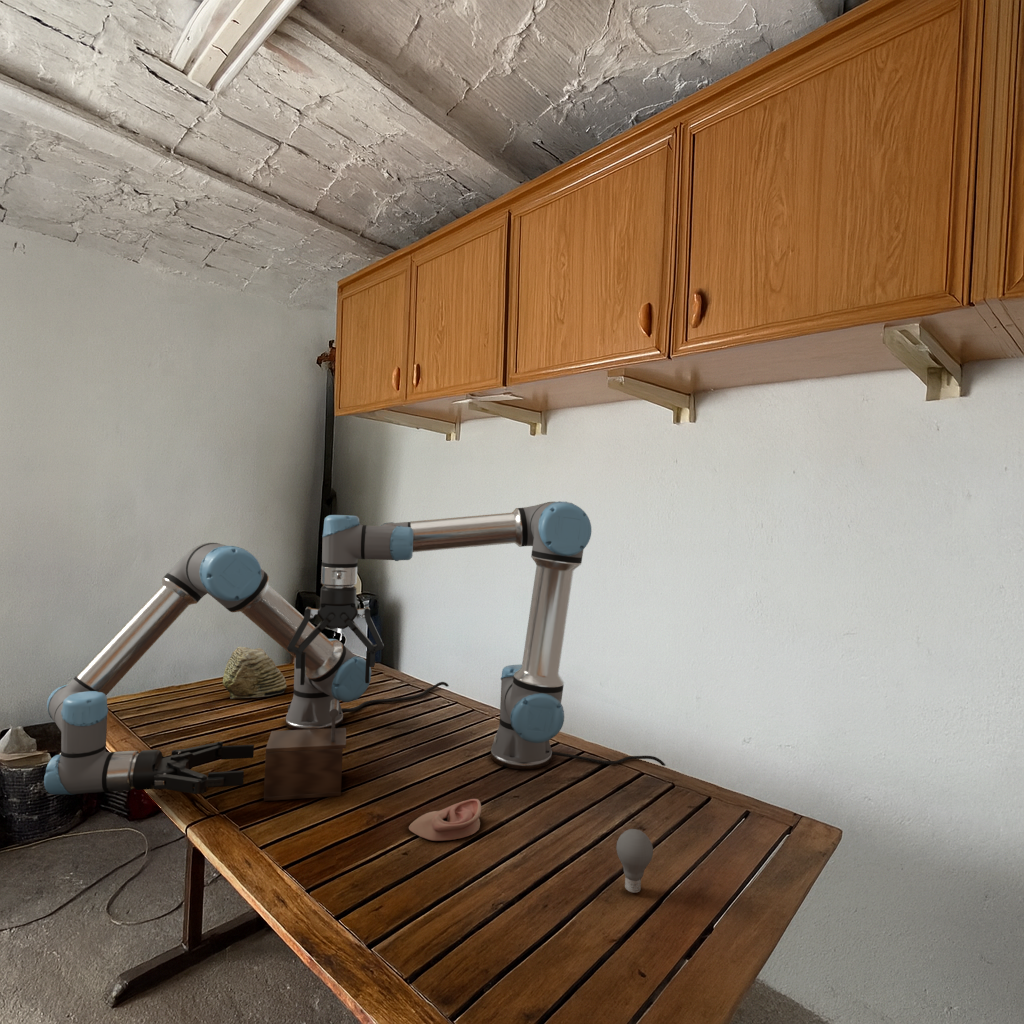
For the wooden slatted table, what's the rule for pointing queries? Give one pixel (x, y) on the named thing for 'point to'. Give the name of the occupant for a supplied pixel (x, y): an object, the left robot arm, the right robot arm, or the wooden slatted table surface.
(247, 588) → the left robot arm
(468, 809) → the anatomical model
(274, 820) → the wooden slatted table surface
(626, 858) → the light bulb
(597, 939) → the wooden slatted table surface
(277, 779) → the chest
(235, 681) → the fossil
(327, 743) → the lid
